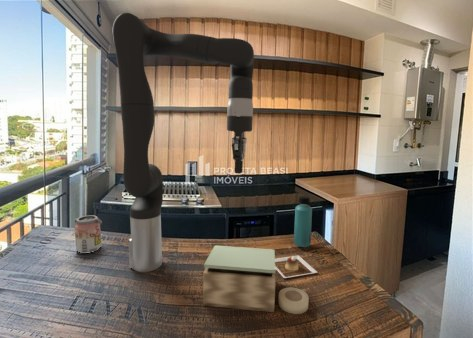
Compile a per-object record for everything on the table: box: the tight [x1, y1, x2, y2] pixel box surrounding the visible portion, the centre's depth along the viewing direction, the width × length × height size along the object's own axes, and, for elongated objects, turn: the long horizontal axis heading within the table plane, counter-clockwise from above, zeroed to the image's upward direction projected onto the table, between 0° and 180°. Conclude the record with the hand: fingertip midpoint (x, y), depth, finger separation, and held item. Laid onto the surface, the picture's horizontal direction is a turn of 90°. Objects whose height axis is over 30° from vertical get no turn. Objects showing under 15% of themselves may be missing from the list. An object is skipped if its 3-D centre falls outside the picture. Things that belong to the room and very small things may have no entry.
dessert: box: [275, 254, 319, 279], centre depth 89 cm, size 12×12×5 cm
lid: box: [203, 245, 276, 274], centre depth 74 cm, size 18×14×1 cm
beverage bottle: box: [293, 195, 313, 248], centre depth 103 cm, size 6×7×20 cm
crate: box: [202, 268, 276, 313], centre depth 75 cm, size 18×14×9 cm
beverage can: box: [74, 214, 103, 253], centre depth 99 cm, size 9×8×12 cm
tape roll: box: [278, 286, 310, 315], centre depth 71 cm, size 8×8×2 cm
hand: (238, 172), depth 83 cm, fingers closed
